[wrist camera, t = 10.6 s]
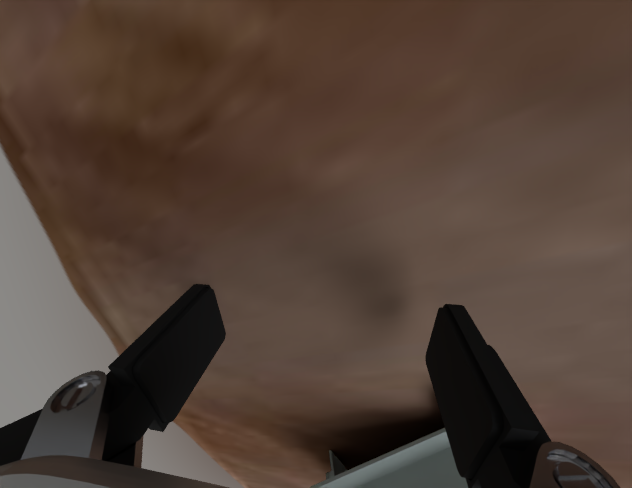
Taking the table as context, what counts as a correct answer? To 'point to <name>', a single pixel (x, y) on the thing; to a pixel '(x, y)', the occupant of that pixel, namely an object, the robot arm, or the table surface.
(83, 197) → the table surface
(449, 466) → the metal bracket
